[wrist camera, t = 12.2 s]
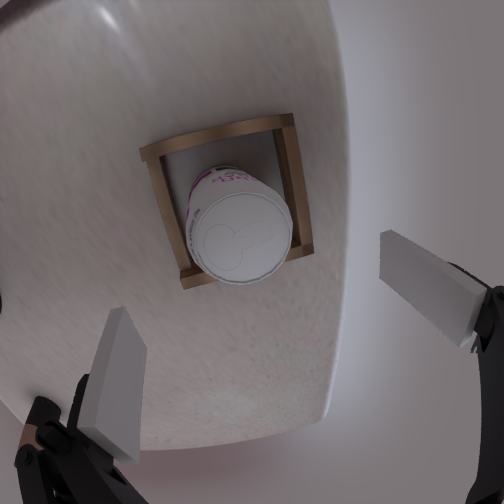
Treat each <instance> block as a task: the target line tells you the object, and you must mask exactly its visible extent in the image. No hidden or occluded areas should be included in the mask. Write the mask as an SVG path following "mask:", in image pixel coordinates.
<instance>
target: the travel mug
mask: <svg viewBox="0 0 504 504" xmlns="http://www.w3.org/2000/svg"><path fill="white" fill-rule="evenodd" d="M60 415H61V410H60V408H59V407H58V406H57V405H56V404H55V403H54V402H52V401H51V400H49V399H47V398H44V397H40V396H38V397H36V398H35V400H34V403H33V405H32V408H31V410H30V412H29V415H28V418H27V420H26V423H25V426H24V429H23V432H22V436H21V439H20V443H19V447H18V450H19V449H20V447H21V446H23V445H24V444H31V445H33V446H34V447H36V448H37V449H38V450H42V449H43V448H42V447H41V446H40V445H38V444H37V443H36V440H35V434H36V430H37V428H38V426H39V425H40V424H41V423H42V422H43V421H44V420H46V419H49V418H54V419H57V420H58V421H59V419H60ZM17 452H18V451H17ZM14 466H15V467H16V468H17V465H16V458H15V463H14Z"/></svg>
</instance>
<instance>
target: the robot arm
mask: <svg viewBox="0 0 504 504" xmlns="http://www.w3.org/2000/svg"><path fill="white" fill-rule="evenodd" d="M379 278H380V279H381V280H382V281H384V282H385V283H386V284H387V285H389V286H390V287H391V288H392V289H393V290H394V291H396V292H397V293H398V294H399V295H401V297H403V298H404V299H405V300H406V301H407V302H409V303H410V304H411V305H412V306H413V307H414V308H415V309H417V310H418V311H419V312H420V313H421V314H422V315H423V316H424V317H425V318H427V319H428V320H429V321H430V322H431V323H432V324H433V325H434V326H435V327H437V328H438V329H439V330H440V331H441V332H442V333H443V334H444V335H445V336H446V337H447V338H448V339H449V340H450V341H451V342H453V343H454V344H455V345H456V346H457V347H458V348H461V347H462V346H463V345H465V344H466V343H467V342H469V341H470V338H471V336H472V333H473V330H474V331H475V332H477V333H478V334H477V336H476V339H475V341H474V343H473V346H472V348H471V353H473V351H474V349H475V347H476V346H477V350H476V353H478V361H479V370H480V383H481V404H482V405H481V406H482V419H481V420H482V422H481V444H480V456H479V464H478V472H477V477H476V481H475V483H474V484H473V486H472V488H471V489H470V491H469V493H468V496H467V499H466V503H465V504H501V503H502V501H503V500H504V286H496V287H494V288H493V289H492V288H491V287H489V286H488V285H487V284H485V283H483V282H482V281H481V280H479V279H478V278H476V277H475V276H473V275H470V273H468V272H467V271H464V269H462V268H461V267H459V266H457V265H455V264H452V263H449V262H446V261H444V260H443V259H441V258H440V257H438V256H436V255H435V254H433V253H431V252H430V251H428V250H426V249H424V248H423V247H421V246H419V245H418V244H416V243H414V242H412V241H410V240H409V239H407V238H405V237H403V236H402V235H400V234H398V233H396V232H394V231H393V230H389V231H385V232H383V233H380V277H379ZM0 313H1V297H0ZM146 355H147V347H146V345H145V344H144V342H143V340H142V338H141V337H140V335H139V333H138V331H137V329H136V328H135V326H134V324H133V322H132V320H131V318H130V316H129V315H128V313H127V311H126V309H125V307H120V308H116V309H112V310H111V311H110V314H109V316H108V319H107V322H106V325H105V328H104V330H103V333H102V336H101V339H100V342H99V345H98V348H97V352H96V355H95V358H94V361H93V364H92V368H91V371H90V374H84V375H83V377H82V378H81V380H80V381H79V383H78V385H77V389H76V392H75V396H74V399H73V403H72V407H71V411H70V415H69V419H68V423H67V427H65V426H64V425H62V424H61V423H60V422H59V421H58V420H57V419H54V418H49V419H46V420H44V421H43V422H42V423H41V424H40V425H39V426H38V428H37V430H36V434H35V440H36V443H37V444H38V445H40V446H41V447H42V448H43V449H42V450H38V449H37V448H36V447H34V446H33V445H31V444H24V445H23V446H21V447H20V449H19V450H18V452H17V455H16V465H17V472H18V479H19V485H20V490H21V495H22V500H23V504H149V503H148V502H147V501H145V499H144V498H143V497H142V496H141V495H140V494H139V493H138V492H137V491H136V490H135V488H134V487H133V486H132V485H131V484H130V483H129V482H128V480H127V479H126V478H125V477H124V476H123V475H122V473H121V472H120V471H119V470H118V469H117V468H116V467H115V466H114V465H113V458H115V459H116V460H118V461H119V462H121V463H124V464H126V463H127V464H129V463H130V464H131V463H139V458H140V425H141V408H142V394H143V383H144V373H145V363H146ZM53 491H55V495H54V492H53ZM55 496H56V497H55Z"/></svg>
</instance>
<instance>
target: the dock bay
mask: <svg viewBox="0 0 504 504" xmlns="http://www.w3.org/2000/svg"><path fill="white" fill-rule="evenodd" d="M267 130H272V132H273V136H274V141H275V147H276V152H277V157H278V162H279V167H280V173H281V178H282V184H283V189H284V195H285V201H286V204H287V206H288V208H289V212H290V215H291V218H292V222H293V229H292V241H291V247H290V249H289V251H288V254H287V256H286V258H285V260H284V262H286V261H290V260H293V259H297V258H300V257H304V256H307V255H311V254H314V246H313V238H312V230H311V222H310V214H309V207H308V200H307V193H306V187H305V180H304V174H303V168H302V162H301V156H300V150H299V145H298V139H297V134H296V129H295V124H294V118H293V113H288V114H281V115H274V116H268V117H262V118H256V119H250V120H245V121H240V122H235V123H230V124H226V125H221V126H217V127H212V128H208V129H204V130H200V131H196V132H192V133H188V134H185V135H181V136H178V137H174V138H171V139H167V140H164V141H161V142H157V143H154V144H151V145H148V146H145V147H142V148H139V150H140V154H141V158H142V162H144V161H146V163H147V166H148V170H149V174H150V177H151V181H152V185H153V188H154V192H155V195H156V198H157V202H158V205H159V208H160V212H161V215H162V218H163V221H164V224H165V227H166V231H167V234H168V237H169V240H170V243H171V246H172V249H173V252H174V255H175V257H176V260H177V263H178V266H179V269H180V281H181V284H182V286H183V289H188V288H192V287H196V286H199V285H203V284H207V283H211V282H214V281H218V279H216V278H214V277H212V276H210V275H208V274H207V273H205V272H204V271H203V270H202V269H201V268H200V267H199V266H198V265H197V264H196V263H195V262H194V261H192V260H191V257H190V254H189V251H188V248H187V245H186V242H185V239H184V235H183V232H182V229H181V226H180V222H179V219H178V216H177V212H176V209H175V205H174V202H173V198H172V195H171V191H170V188H169V184H168V181H167V177H166V173H165V169H164V166H163V162H162V158H161V156H163V155H166V154H169V153H173V152H176V151H180V150H183V149H187V148H191V147H194V146H198V145H202V144H206V143H210V142H214V141H218V140H223V139H227V138H232V137H236V136H241V135H246V134H251V133H256V132H261V131H267Z"/></svg>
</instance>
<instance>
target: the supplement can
mask: <svg viewBox="0 0 504 504" xmlns="http://www.w3.org/2000/svg"><path fill="white" fill-rule="evenodd" d="M292 229H293V222H292V218H291V215H290V212H289V208H288V206H287V204H286V203H285V202H284V201H283V199H282V198H281V197H280V195H279V194H278V193H277V192H276V191H274V190H273V189H271V188H270V187H268V186H267V185H265V184H264V183H262V182H260V181H259V180H257V179H256V178H254V177H252V176H251V175H249V174H248V173H246V172H244V171H242V170H241V169H239V168H237V167H233V166H227V165H221V166H216V167H212V168H210V169H208V170H207V171H205V172H203V173H202V174H200V176H199V177H198V178H197V179H196V181H195V182H194V183H193V186H192V189H191V192H190V195H189V203H188V211H187V220H186V240H187V247H188V249H189V251H190V254H191V256H192V258H193V260H194V262H195V263H196V264H197V265H198V266H199V267H200V268H201V269H202V270H203V271H204V272H205V273H207V274H208V275H210V276H212V277H214V278H216V279H218V280H221V281H223V282H225V283H227V284H238V285H246V284H250V283H254V282H259V281H261V280H263V279H264V278H266V277H268V276H269V275H271V274H273V273H274V272H275V271H276V270H277V269H278V267H279V266H280V265H281V264H282V263H283V262H284V260H285V258H286V256H287V254H288V251H289V249H290V247H291V241H292Z"/></svg>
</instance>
